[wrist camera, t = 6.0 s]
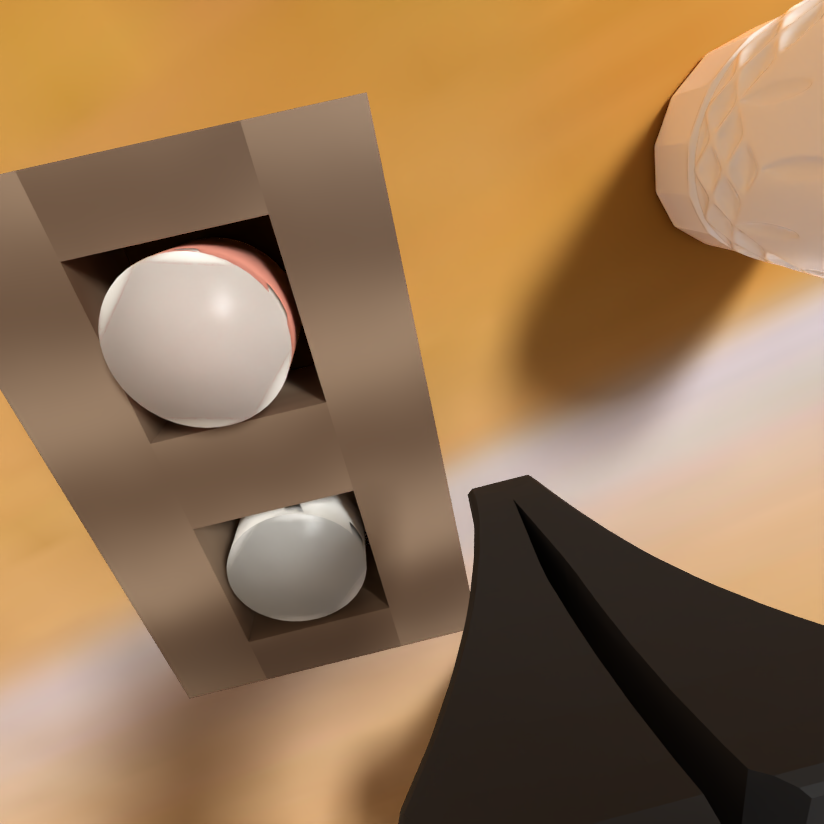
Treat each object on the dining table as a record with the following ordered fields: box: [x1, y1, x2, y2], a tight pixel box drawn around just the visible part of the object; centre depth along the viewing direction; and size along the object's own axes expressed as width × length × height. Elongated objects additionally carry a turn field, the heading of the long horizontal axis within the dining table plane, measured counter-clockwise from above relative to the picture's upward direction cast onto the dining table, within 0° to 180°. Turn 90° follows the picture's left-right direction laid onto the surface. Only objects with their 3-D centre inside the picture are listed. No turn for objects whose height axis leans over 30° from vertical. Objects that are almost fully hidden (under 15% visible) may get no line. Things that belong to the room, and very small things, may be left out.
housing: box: [0, 93, 470, 698], centre depth 18 cm, size 19×12×4 cm, turn 12°
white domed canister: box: [227, 491, 367, 621], centre depth 20 cm, size 5×5×4 cm
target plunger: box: [99, 237, 301, 428], centre depth 15 cm, size 5×5×4 cm
